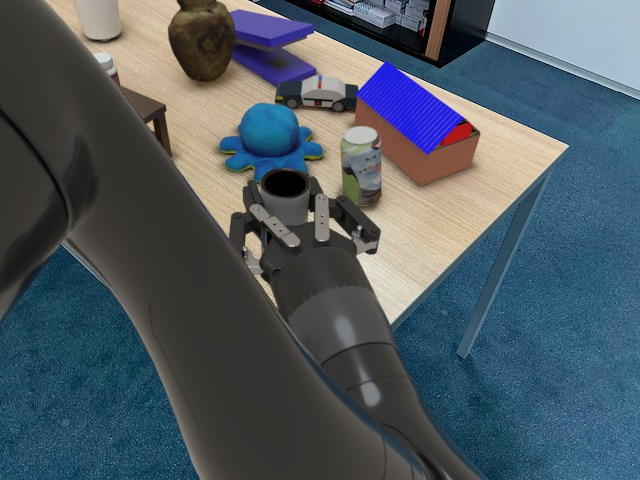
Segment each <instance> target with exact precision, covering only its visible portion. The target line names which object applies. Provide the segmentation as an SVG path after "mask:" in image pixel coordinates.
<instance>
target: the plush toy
mask: <svg viewBox="0 0 640 480" xmlns="http://www.w3.org/2000/svg"><path fill="white" fill-rule="evenodd" d="M299 122H300V121H299V120H298V117H297V115H296V113H295V112H294V111H293V109H290V108H288V107H287V106H286V105H285V104H276V103H269V102H257V103H255V104H253V105H252V106H251V107H249V108H248V109H247V110H246V111H245V112H244V114H243V115H242V117H241V120H240V123H238V125H237V133H238V135H231V136H230V135H229V136H225V137H223V138H222V139H221V140H220V142H219V145H218V147H219V151H220V152H221V154H233V155H231V156H230V157H228V158H226V159H225V161H224V164H225V167H226V169H227V170H229V171H232V172H235V173H240V172H243V171H245V170H246V169H249V168H252V169H253V175H252V179H251V180H255V181H256V183H259V184H260V181H261V178H262V177H263V175H264V174H265V173H267V172H268V171H270V170H272V169H276V168H283V167H285V168H293V169H296V170H299V171H301V172H308V171H309V170H308V166H307V164H306V162H305V161H306V160H305V159H309V160H318V159H322V157H323V156H324V149H323V147H322V144H320V143H318V142H316V141H309V140H310V139H311V138H312V137H313V133H312V130H311V128H309V127H307V126H303V125H300V123H299ZM308 173H309V172H308Z"/></svg>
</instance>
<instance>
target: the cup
mask: <svg viewBox="0 0 640 480" xmlns="http://www.w3.org/2000/svg"><path fill="white" fill-rule="evenodd" d="M71 1H72V4H73V7H74V10H75V13H76V15H77V18H78V21H79V24H80V26H81V28H82V31H83V34H84V35H85V37H86V38H87V39H88V40H89V41H90V42H95V41H96V40H97V41H101V42H102V43H108V42H109V41H110V40H112V39H113V38H114V39H118V38H120V36H121V32H122V27H121V18H120V17H121V16H120V6H119V0H71Z"/></svg>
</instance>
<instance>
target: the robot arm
mask: <svg viewBox="0 0 640 480" xmlns="http://www.w3.org/2000/svg"><path fill="white" fill-rule="evenodd" d="M93 54H94V53H92V52H91V50H89V48H88V47H87V45H86V44H85V43H84V42H83V41H82V39H81V38H80V37H79V36H78V34H76V32H75V31H74V30H73V29H72V28H71V27H70V26H69V24H67V22H66V21H65V20H64V19H63V18H62V17H61V16H60V15H59V14H58V12H57V11H56V10H55V9H54V8H53V7H52V5H50V3H48V2H47V1H46V0H0V327H1V326H2V324H3V323H4V322H5V321H6V319H7V318H8V316H10V314H11V313H12V311H13V310H14V308H15V307H16V305H18V303H19V302H20V300H21V299H22V298H23V296H24V295H25V294H26V293H27V291H28V290H29V288H30V287H31V286H32V284H33V283H34V281H35V280H36V279H37V277H38V276H39V275H40V274H41V272H42V271H43V270H44V268H45V266H46V265H47V264H48V262H49V261H50V260H51V258H52V257H53V255H54V254H55V253H56V251H57V250H58V249H59V248H60V246H61V245H63V246H64V247H65V248H66V249H67V250H69V251H70V252H71V253H72V254H74V255H75V256H76V257H77V258H78V259H79V260H80V261H81V262H82V263H83V264H84V265H85V266H86V267H88V268H89V269H90V270H91V272H92V273H93V274H94V275H95V276H96V277H97V278H98V279H99V281H100V282H101V283H103V285H104V286H105V287H106V289H107V290H108V291H109V292H110V293H111V295H112V296H113V297H114V299H115V300H116V301H117V303H118V304H119V305H120V307H121V308H122V310H123V311H124V313H125V315H126V316H127V317H128V319H129V320H130V322H131V324H132V326H133V328H134V329H135V331H136V333H137V336H138V338H139V339H140V341H141V343H142V344H143V347H144V348H145V350H146V352H147V354H148V356H149V358H150V360H151V363H152V365H153V367H154V370H155V372H156V374H157V377H158V379H159V381H160V383H161V386H162V389H163V390H164V393H165V395H166V398H167V401H168V403H169V406H170V408H171V411H172V414H173V416H174V419H175V422H176V424H177V427H178V430H179V433H180V436H181V438H182V440H183V443H184V446H185V448H186V450H187V453H188V455H189V458H190V460H191V462H192V466H193V468H194V469H195V472H196V474H197V475H198V477H199V479H200V480H489V479H488V477H486V475H485V474H484V473H483V472H482V471H481V470H480V469H479V468H478V467H477V465H475V464H474V463H473V461H471V459H470V458H469V457H468V456H467V455H466V454H465V453H464V451H463V450H462V449H461V448H460V447H459V446H458V445H457V443H456V442H455V441H454V439H452V437H451V436H450V434H449V433H448V432H447V431H446V429H444V427H443V425H442V424H441V423H440V421H439V420H438V419H437V417H436V416H435V415H434V413H433V411H432V409H431V408H430V407H429V405H428V404H427V402H426V400H425V399H424V397H423V395H422V393H421V391H420V389H419V387H418V385H417V383H416V381H415V379H414V377H413V375H412V373H411V370H410V368H409V367H408V365H407V363H406V361H405V359H404V357H403V354H402V353H401V351H400V348H399V346H398V344H397V340H396V337H395V334H394V331H393V327H392V325H391V323H390V321H389V318H388V317H387V315H386V313H385V310H384V309H383V306H382V304H381V303H380V300H379V299H378V296H377V294H376V292H375V290H374V288H373V286H372V285H371V282H370V279H369V278H368V276H367V275H366V272H365V270H364V268H363V266H362V264H361V262H360V260H359V258H358V257H357V256H359V255H361V254H364V253H365V254H367V255H369V256H372V255H373V256H374V255H375V254H377V253H378V249H379V243H380V239H381V234H382V230H381V228H380V227H379V226H378V225H377V224H376V223H375V222H374V221H373V220H372V219H371V218H370V217H369V216H367V215H366V213H365V212H364V211H363V210H362V209H361V208H360V207H359V206H356V205H355V204H354V203H353V202H352V201H351V200H350V199H349V198H348V197H347V196H345V195H343V194H339V195H336V198H333V197H329V196H328V195H327V194H325V192H324V190H323V188H322V186H321V185H320V183H319V180H318V179H317V177H315V176H314V175H310V173H309V172H303V173H304V174H305V175H306V176H307V177H308V179H309V181H310V196H309V210H308V212H309V213H310V214H311V213H313V220H310V221H308V222H306V223H303V224H301V225H288V226H284V225H283V223H282V222H281V221H280V220H279V219H278V218H277V217H276V216H275V215H273V216H271V215H270V214H269V213H268V212H267V211H266V210H265V209H264V202H263V200H262V197H261V194H260V188H259V187H258V184H257V182H256V181H255V180H253V179H249V180H247V181H246V185H244V186H242V191H241V192H242V202H243V206H244V209H245V212H242V211H235V212H232V213H231V215H230V223H229V229H228V230H229V232H228V235H227V234H226V232H225V231H224V228H222V227H221V225H220V224H219V223H218V221H217V220H216V218H215V217H214V215H213V214H212V213H211V211H209V208H207V206H206V205H205V203H204V202H203V201H202V200H201V198H200V197H199V195H198V194H197V193H196V191H195V190H194V189H193V188H192V186H191V184H190V183H189V181H188V180H187V179H186V177H185V176H184V174H183V173H182V172H181V171H180V169H179V168H178V166H177V165H176V163H175V162H174V161H173V159H172V157H171V158H170V156H169V155H168V154H167V152H166V151H165V149H164V148H163V147H162V145H161V144H160V143H159V141H158V140H157V138H156V137H155V136H154V134H153V133H152V131H153V130H152V129H151V128H150V127H149V126H148V123H147V124H146V123H145V122H144V120H143V119H142V118H141V116H140V115H139V113H138V112H137V111H136V109H135V108H134V106H133V105H132V104H131V102H130V101H129V100H128V99H127V97H126V96H125V95H124V93H123V92H122V91H121V89H120V88H119V87H118V85H117V84H116V83H115V81H114V80H113V79H112V78H111V76H110V75H109V74H108V73H107V71H106V70H105V69H104V68H103V66H102V65H101V64H100V63H99V62H98V60H97V59H96V58H95V57H94V55H93ZM151 130H152V131H151ZM330 219H333V220H334V221H335V223H336V224H338V225H339V227H340V228H341V229H342V230H343V231H344V232H345V233H346V234H347V235H348V236H349V237H350V238H349V237H346V236H345V235H343V234H341V233H339V232H337V231H336V230H334V229H332V228H331V227H330ZM251 233H252V234H253V235H254V236H255V237H256V238H257V239H258V240H259V241H260V244H261V243H262V246H263V248H264V249H265V251H264V252H263V254H262V256H261V255H260V258H256V257H255V256H254V255H253V252H252V250H251V249H249V247H248V246H246V239H247V238H246V237H247V235H249V234H251ZM257 275H259V277H260V278H261V280H263V281H264V282H265V283H267V284H268V286H269V287H270V290H271V293H272V295H273V298H274V302H275V303H274V302H273V300H272V299H271V297H270V296H269V295H268V293H267V291H266V290H265V288H264V287H263V286H262V284H261V283H260V281H259V280H258V279H257V277H256V276H257Z"/></svg>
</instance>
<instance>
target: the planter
mask: <svg viewBox="0 0 640 480" xmlns="http://www.w3.org/2000/svg"><path fill="white" fill-rule="evenodd" d="M259 192H260V194H261V197H262V200H263V202H264V209H265V210H266V211H267V212H268V213H269V214H270V215H271V216H273V215H275V216H276V217H277V218H278V219H279V220H280V221H281V222H282V223H283V225H284V226H288V225H301V224H303V223H306V222H309V196H310V181H309V179H308V177H307V176H306V175H305V174H304V173H303V172H301V171H299V170H296V169H293V168H285V167H283V168H276V169H272V170H270V171H268V172H267V173H265V174H264V175H263V177H262V178H261V181H260V183H259ZM260 251H261V252H260V257H261V256H262V254H263V252H264V251H265V249H264V248H263V246H262V243H261V242H260Z"/></svg>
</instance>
